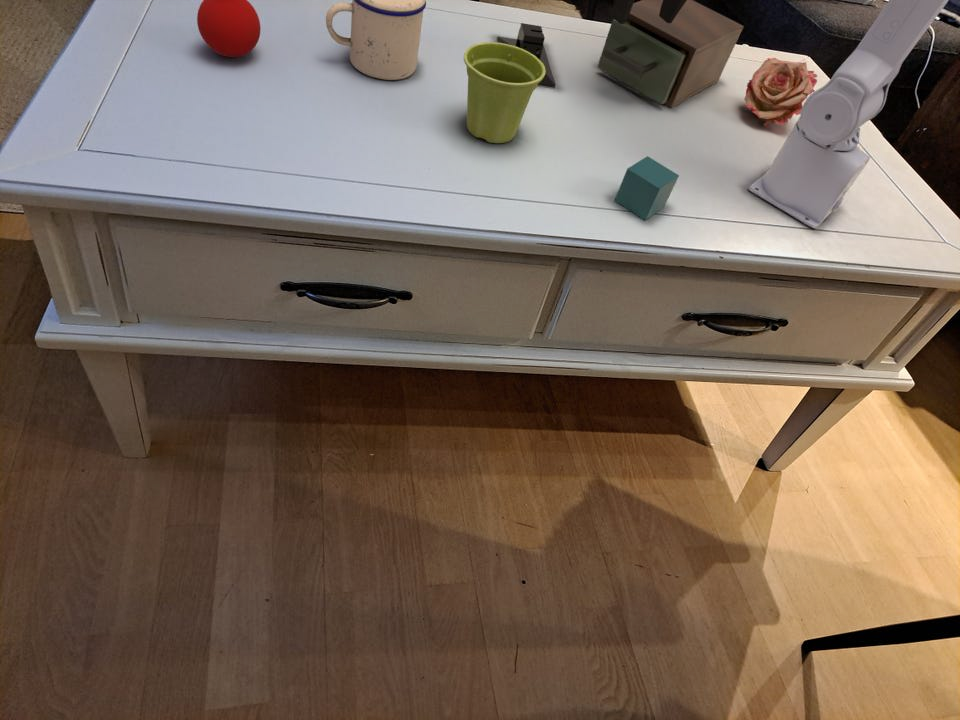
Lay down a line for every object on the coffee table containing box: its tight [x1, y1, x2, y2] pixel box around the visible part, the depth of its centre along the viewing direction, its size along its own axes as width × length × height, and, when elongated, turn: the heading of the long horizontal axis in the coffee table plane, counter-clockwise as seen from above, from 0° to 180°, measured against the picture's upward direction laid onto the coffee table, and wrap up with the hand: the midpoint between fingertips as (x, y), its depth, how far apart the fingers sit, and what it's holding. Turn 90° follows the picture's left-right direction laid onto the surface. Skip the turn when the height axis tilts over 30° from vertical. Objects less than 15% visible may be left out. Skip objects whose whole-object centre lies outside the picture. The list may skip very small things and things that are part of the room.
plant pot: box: [463, 41, 546, 144], centre depth 81 cm, size 9×9×9 cm
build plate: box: [496, 22, 557, 89], centre depth 96 cm, size 12×7×5 cm, turn 5°
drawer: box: [597, 18, 689, 105], centre depth 97 cm, size 18×11×7 cm, turn 138°
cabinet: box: [627, 0, 745, 109], centre depth 100 cm, size 15×13×9 cm
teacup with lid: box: [325, 0, 427, 81], centre depth 85 cm, size 12×9×12 cm
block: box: [613, 155, 680, 221], centre depth 78 cm, size 4×4×4 cm
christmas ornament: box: [196, 0, 261, 58], centre depth 81 cm, size 7×7×10 cm
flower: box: [743, 57, 818, 128], centre depth 98 cm, size 10×9×8 cm
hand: (642, 20), depth 89 cm, fingers open, 7 cm apart
